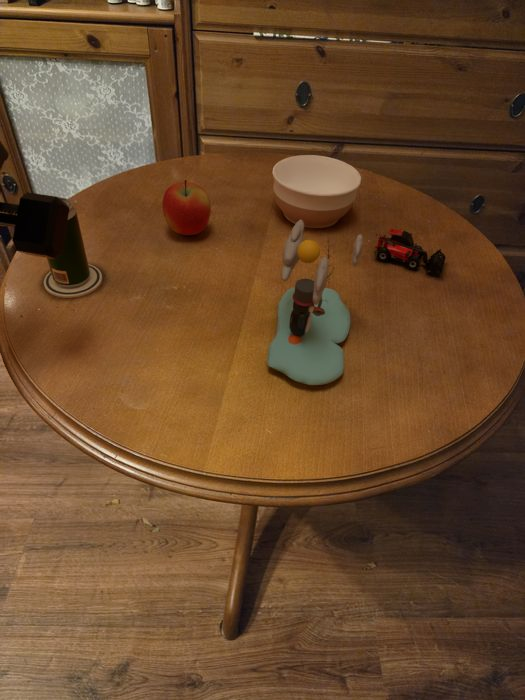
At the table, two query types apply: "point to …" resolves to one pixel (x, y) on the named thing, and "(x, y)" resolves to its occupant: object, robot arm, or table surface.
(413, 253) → the loader
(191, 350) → the table surface
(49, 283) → the drink coaster
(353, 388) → the table surface
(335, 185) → the bowl
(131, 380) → the table surface
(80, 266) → the beer can
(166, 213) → the apple
